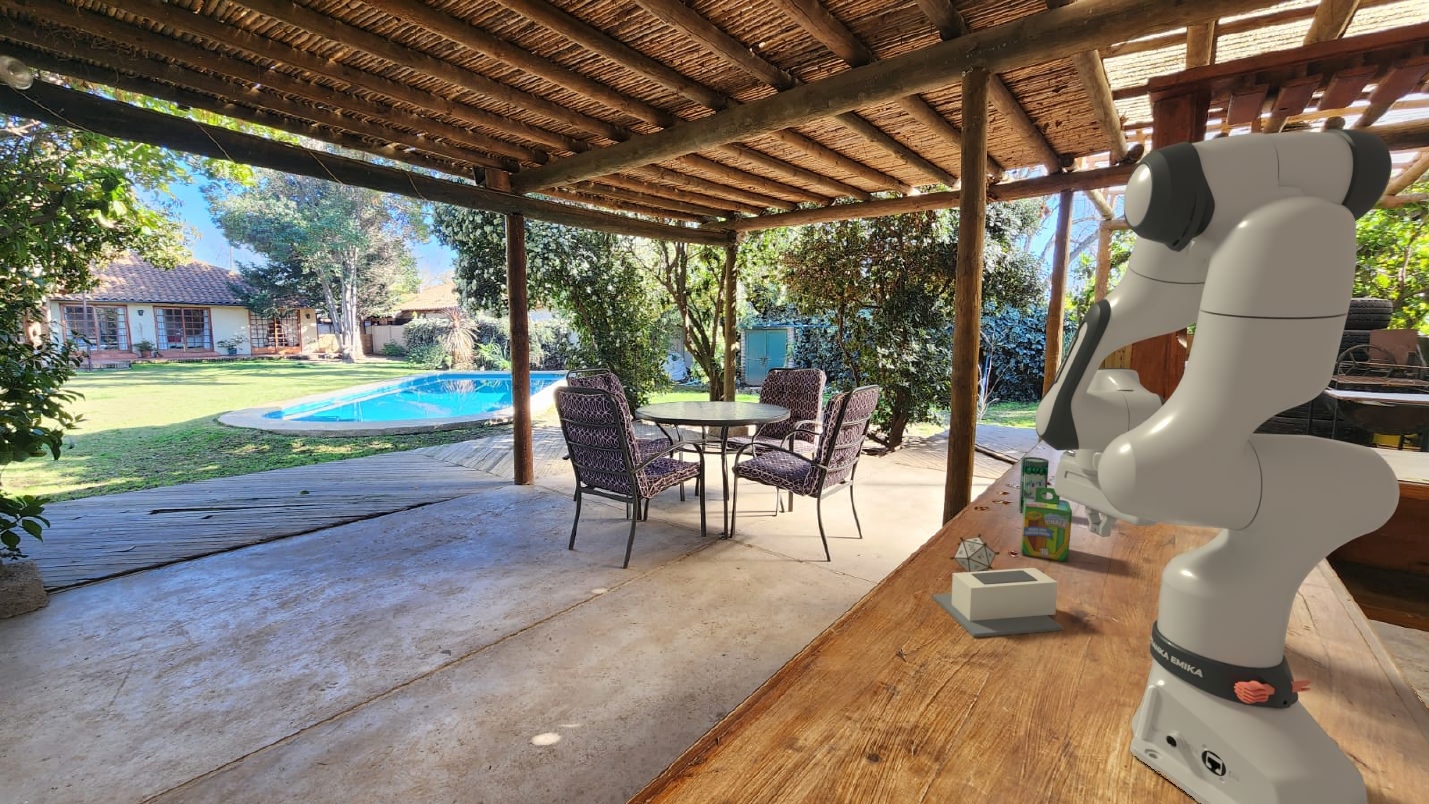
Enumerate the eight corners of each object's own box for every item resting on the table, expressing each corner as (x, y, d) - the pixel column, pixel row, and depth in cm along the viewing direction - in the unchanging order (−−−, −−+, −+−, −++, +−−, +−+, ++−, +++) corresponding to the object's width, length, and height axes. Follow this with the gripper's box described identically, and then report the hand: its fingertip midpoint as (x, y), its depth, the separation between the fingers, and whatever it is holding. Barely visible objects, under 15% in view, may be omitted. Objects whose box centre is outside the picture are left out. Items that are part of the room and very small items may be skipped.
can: (1022, 515, 151) (1025, 461, 149) (1017, 508, 157) (1019, 456, 155) (1047, 517, 150) (1050, 462, 148) (1041, 510, 155) (1044, 457, 153)
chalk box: (1021, 555, 125) (1024, 491, 123) (1020, 541, 133) (1023, 481, 131) (1069, 563, 121) (1074, 497, 119) (1065, 548, 129) (1070, 486, 127)
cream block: (1057, 581, 98) (971, 587, 96) (1055, 614, 99) (969, 620, 97) (1034, 566, 104) (952, 572, 102) (1032, 598, 105) (951, 604, 103)
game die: (982, 594, 116) (1008, 569, 109) (942, 577, 117) (965, 551, 110) (982, 559, 122) (1007, 533, 115) (944, 543, 123) (966, 517, 117)
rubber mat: (1062, 630, 95) (1063, 626, 95) (973, 637, 93) (973, 633, 93) (1010, 591, 108) (1010, 589, 108) (932, 597, 107) (932, 594, 107)
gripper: (1047, 448, 109) (1043, 516, 110) (1136, 472, 89) (1130, 556, 90) (1077, 447, 110) (1072, 515, 111) (1172, 471, 89) (1166, 554, 91)
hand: (1099, 534), depth 101 cm, fingers closed
